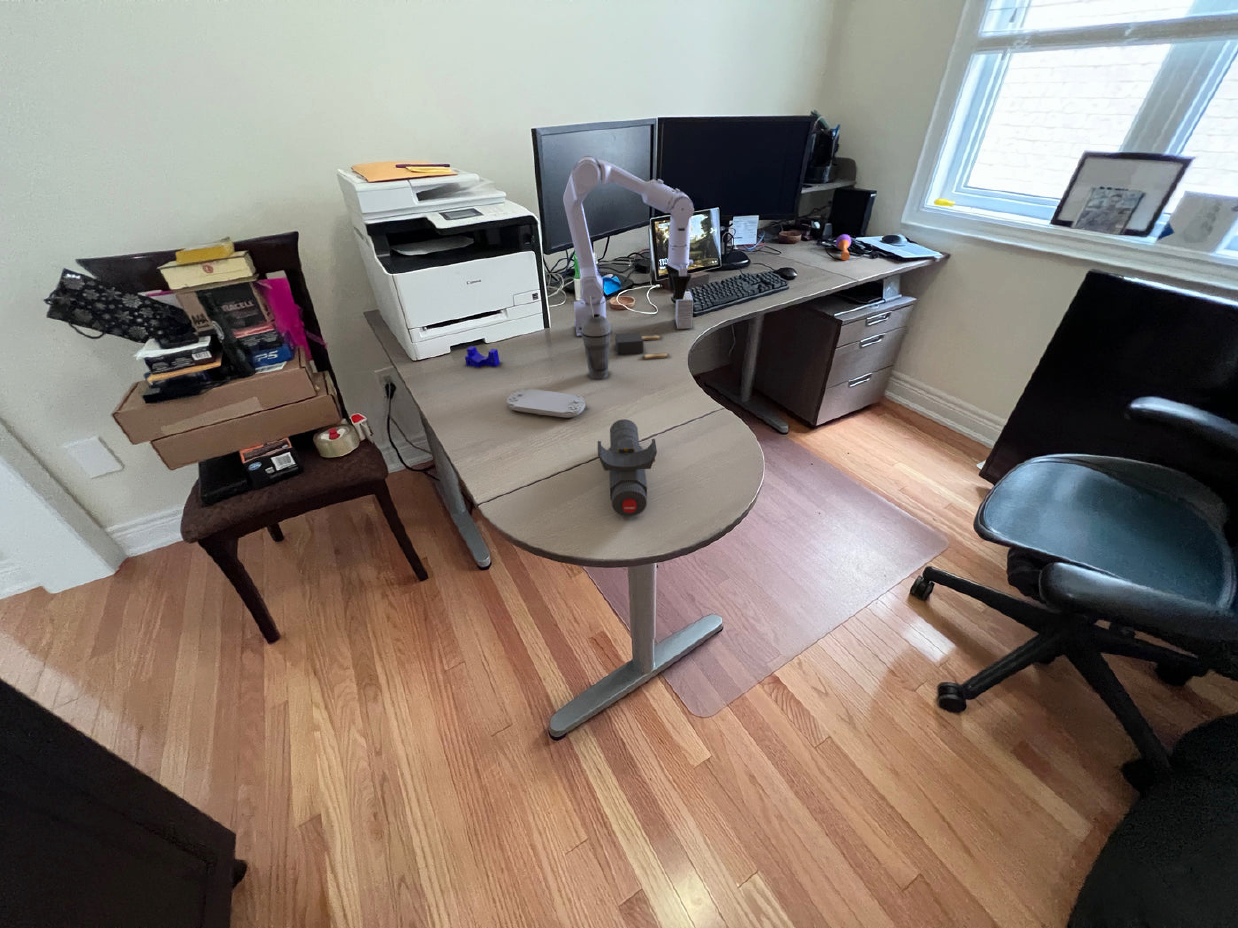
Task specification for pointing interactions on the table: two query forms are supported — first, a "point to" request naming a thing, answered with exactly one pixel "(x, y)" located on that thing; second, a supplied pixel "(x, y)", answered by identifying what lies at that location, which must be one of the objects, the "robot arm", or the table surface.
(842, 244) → the kendama
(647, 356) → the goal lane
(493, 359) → the cable holder
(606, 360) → the beverage cup
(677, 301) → the medicine box
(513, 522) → the table surface
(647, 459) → the laser sight
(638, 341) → the black block
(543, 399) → the game console
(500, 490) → the table surface
